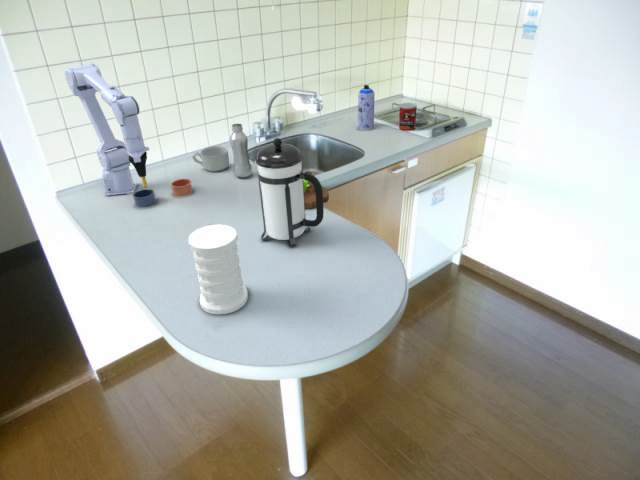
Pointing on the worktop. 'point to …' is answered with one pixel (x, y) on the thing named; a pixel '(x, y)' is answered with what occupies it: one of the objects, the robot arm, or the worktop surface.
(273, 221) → the coffee press
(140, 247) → the worktop surface
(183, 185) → the right pot
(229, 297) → the decorative container
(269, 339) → the worktop surface
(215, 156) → the teacup
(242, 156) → the plastic bottle
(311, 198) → the plant
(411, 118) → the canned food
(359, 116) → the aerosol can
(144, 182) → the pencil
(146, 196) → the left pot
